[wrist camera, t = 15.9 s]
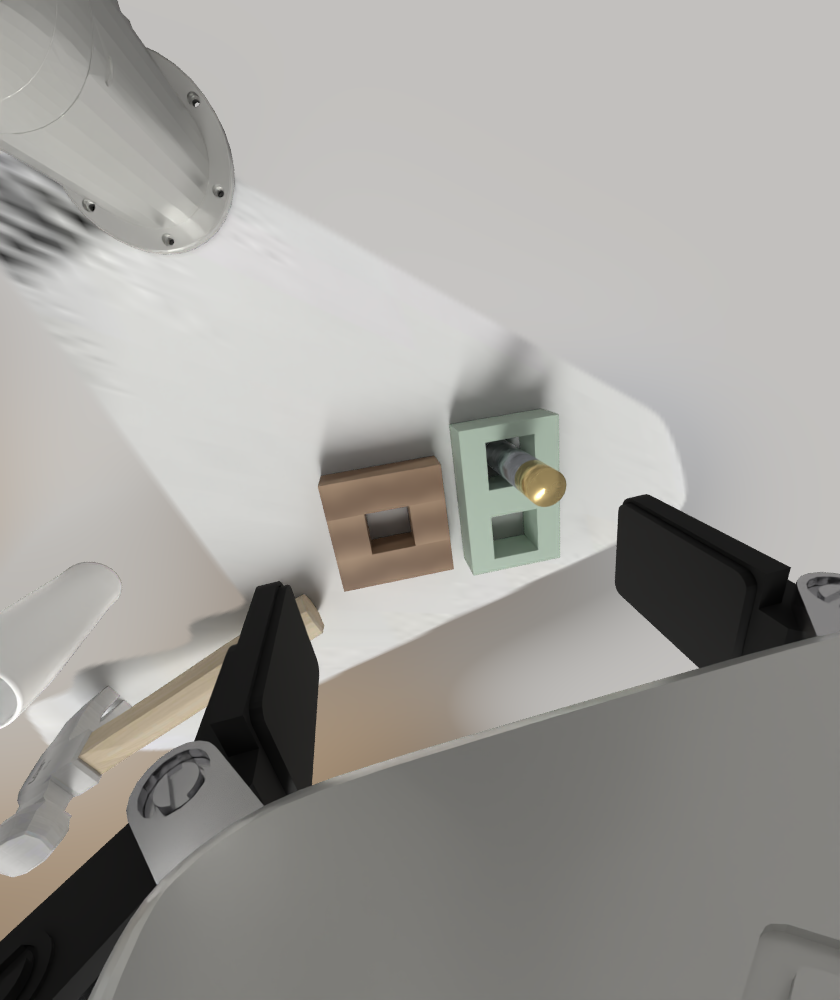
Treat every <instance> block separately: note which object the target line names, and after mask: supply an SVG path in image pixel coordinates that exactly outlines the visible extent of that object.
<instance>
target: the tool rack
mask: <svg viewBox="0 0 840 1000" xmlns="http://www.w3.org/2000/svg"><path fill="white" fill-rule="evenodd" d="M449 428H450V436H451V445H452V454H453V463H454V472H455V481H456V489H457V498H458V507H459V516H460V525H461V534H462V542H463V551H464V558H465V560H466V562H467V564H468V566H469V568H470V570H471V572H472V573H473V575H479V574H483V573H488V572H493V571H498V570H502V569H507V568H512V567H517V566H522V565H526V564H531V563H536V562H541V561H545V560H550V559H555V558H560V501H558V502H557V503H556V504H554V505H552V506H549V507H540V506H537V505H535V504H534V503H533V502H532V501H530V500H529V499H528V498H527V497H526V496H525V495H523V494H522V493H521V492H520V491H519V490H517V489H516V488H515V487H514V486H513V485H512V484H510V483H509V482H508V481H507V480H506V479H504V478H503V477H502V476H501V475H496V476H491V477H488V471H487V459H486V446H485V443H486V442H492V441H497V440H503V439H509V438H514V437H519V441H520V449H521V450H523V451H525V452H526V453H528V454H530V455H531V456H533V457H535V458H537V459H538V460H540V461H542V462H543V463H545V464H547V465H548V466H550V467H552V468H554V469H555V470H557V471H559V414H556V413H553V412H549V411H546V410H543V409H537V410H531V411H525V412H519V413H513V414H508V415H502V416H496V417H490V418H484V419H479V420H473V421H467V422H461V423H455V424H449ZM522 511H523V524H524V535H519V536H514V537H509V538H504V539H499V540H494V541H493V533H492V521H491V518H492V517H497V516H502V515H507V514H512V513H517V512H522Z"/></svg>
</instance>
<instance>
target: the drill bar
mask: <svg viewBox="0 0 840 1000" xmlns="http://www.w3.org/2000/svg"><path fill="white" fill-rule="evenodd" d="M486 459H487V464H488V465H489V466H490V467H492V468H493V469H494V470H495V471H496V472H497V473H499V474H500V475H501V476H502V477H503V478H504V479H506V480H507V481H508V482H509V483H510V484H512V485H513V486H514V487H515V488H516V489H517V490H519V491H520V492H521V493H522V494H523V495H525V496H526V497H527V498H528V499H529V500H530V501H532V502H533V503H534V504H535V505H537V506H540V507H549V506H552V505H554V504H556V503H557V502H558V501H559V500H560V499H561V498H562V497H563V495H564V493H565V490H566V480H565V478H564V476H563V475H562V474H561V473H560V472H559V471H557V470H555V469H554V468H552V467H550V466H548V465H547V464H545V463H543V462H542V461H540V460H538V459H537V458H535V457H533V456H531V455H530V454H528V453H526V452H525V451H523V450H521V449H520V448H518V447H516V446H514V445H513V444H511V443H509V442H508V441H506V440H504V439H503V440H497V441H492V442H489V443H488V444H487V446H486Z"/></svg>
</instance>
